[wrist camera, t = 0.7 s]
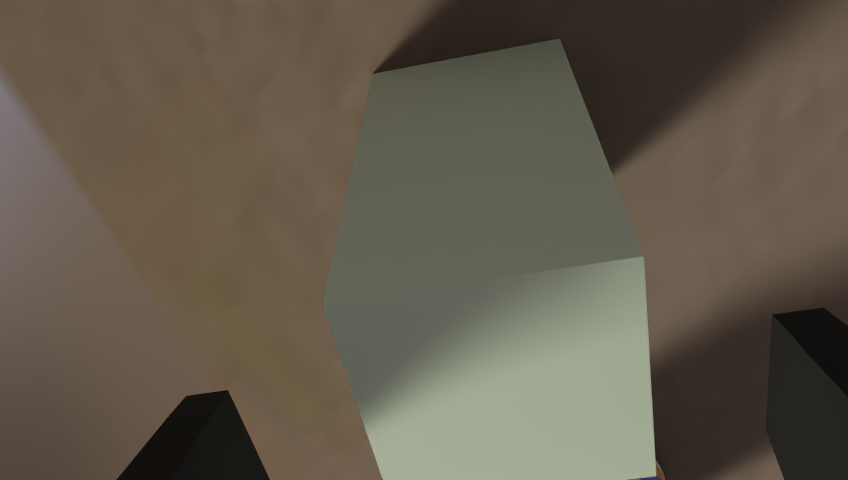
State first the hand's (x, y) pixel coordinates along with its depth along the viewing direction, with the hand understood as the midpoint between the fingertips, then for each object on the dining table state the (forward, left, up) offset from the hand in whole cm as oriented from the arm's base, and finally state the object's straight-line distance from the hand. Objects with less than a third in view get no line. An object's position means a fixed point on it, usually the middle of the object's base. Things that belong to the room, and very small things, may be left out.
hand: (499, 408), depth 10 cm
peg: (0, 0, -8) cm, 8 cm away
